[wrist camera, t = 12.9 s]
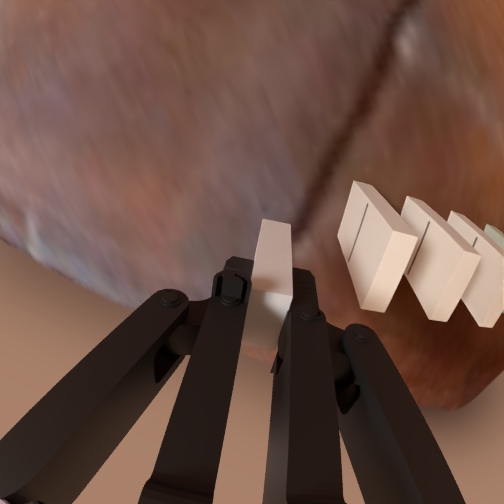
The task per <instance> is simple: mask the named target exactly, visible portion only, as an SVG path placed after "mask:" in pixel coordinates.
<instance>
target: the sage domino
mask: <svg viewBox="0 0 504 504" xmlns="http://www.w3.org/2000/svg"><path fill="white" fill-rule="evenodd" d="M484 233H486V234H487V235H488V236H489V237H490V238H491V239H492V240H493V241H495V242H496V243H497V244H498V245H499V246H500V247H501V248H502V249H503V250H504V234H503V233H502V232H501V231H500V230H498V229H497V228H496V227H493V226H491V225H488V224H486V227H485V229H484ZM502 312H503V313H504V310H503V311H502Z"/></svg>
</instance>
